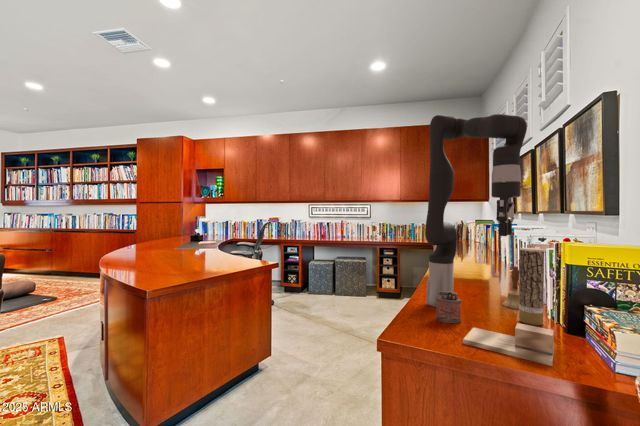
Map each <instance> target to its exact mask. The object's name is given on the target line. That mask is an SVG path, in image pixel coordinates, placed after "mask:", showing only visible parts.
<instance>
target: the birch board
mask: <svg viewBox="0 0 640 426" xmlns="http://www.w3.org/2000/svg"><path fill="white" fill-rule="evenodd" d="M462 344H463V345H467V346H473V347H477V348H479V349H484V350H488V351H491V352H496V353H500V354H503V355H508V356H510V357H515V358H518V359H523V360H527V361H531V362H535V363H539V364H543V365H545V366H550V367H553V361H554V356H555V355H554V354H555V345H554V344H553V356H551V355H547V354H543V353H538V352H534V351H530V350H526V349H522V348H517V347H515V335H514V336H513V335H509V334H505V333H500V332H495V331H491V330H486V329H482V328H478V327H475V326H474V327H472V328H471V330H470V331H469V332H468V333H467V334H466V335H465V337H463V339H462Z"/></svg>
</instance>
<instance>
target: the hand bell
mask: <svg viewBox="0 0 640 426" xmlns="http://www.w3.org/2000/svg"><path fill="white" fill-rule="evenodd" d="M519 277H520V270H519V268H518V266H513V268H512V270H511V280H512V289H511V291H510V290H509V291H508V293H507V298H506V300H505V301H504V302H503V303H502V306H504V307H506V308H510V309H513V310H514V309H515V310H519V291H518V290H519V289H518V288H519V287H518V282H519Z"/></svg>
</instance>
